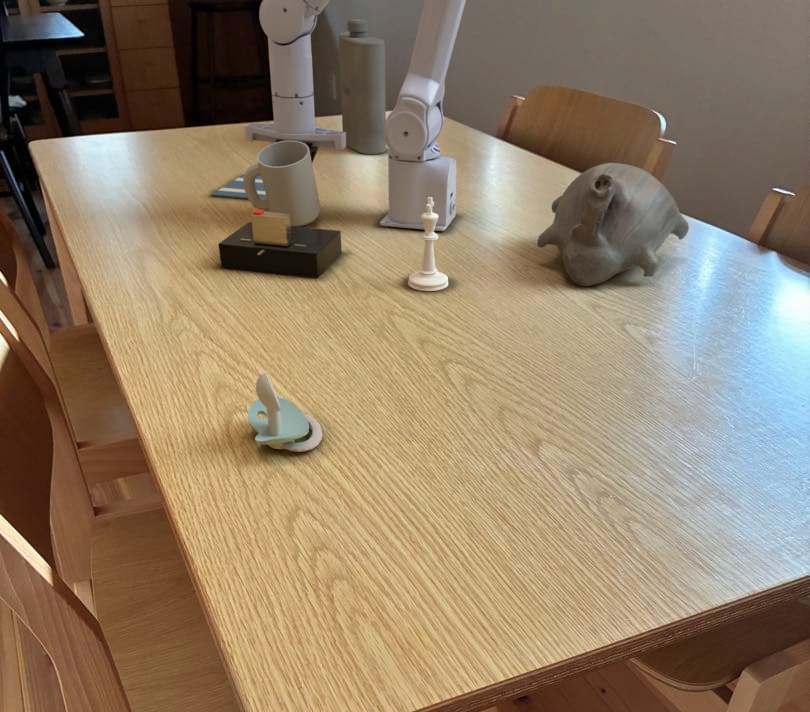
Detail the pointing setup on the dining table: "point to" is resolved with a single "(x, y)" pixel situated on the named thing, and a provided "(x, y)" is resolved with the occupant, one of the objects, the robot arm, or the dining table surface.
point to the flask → (362, 88)
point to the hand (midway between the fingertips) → (298, 197)
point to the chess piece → (428, 257)
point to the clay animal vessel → (612, 223)
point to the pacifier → (281, 420)
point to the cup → (285, 182)
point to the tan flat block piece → (271, 228)
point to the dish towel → (240, 189)
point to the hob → (282, 252)
